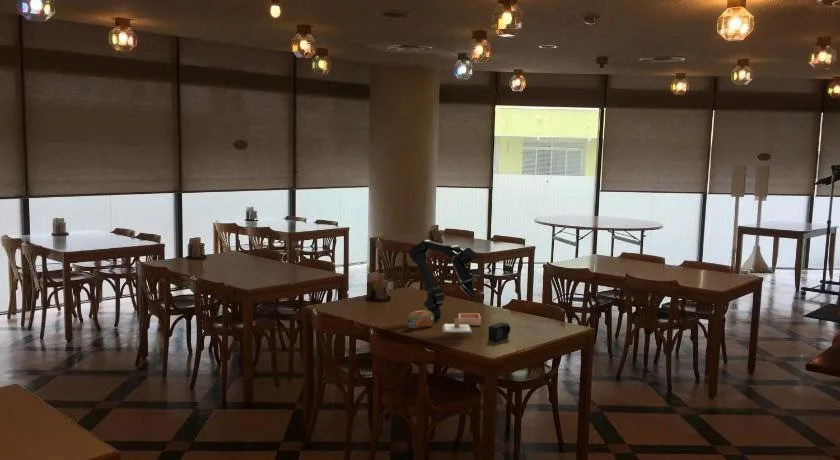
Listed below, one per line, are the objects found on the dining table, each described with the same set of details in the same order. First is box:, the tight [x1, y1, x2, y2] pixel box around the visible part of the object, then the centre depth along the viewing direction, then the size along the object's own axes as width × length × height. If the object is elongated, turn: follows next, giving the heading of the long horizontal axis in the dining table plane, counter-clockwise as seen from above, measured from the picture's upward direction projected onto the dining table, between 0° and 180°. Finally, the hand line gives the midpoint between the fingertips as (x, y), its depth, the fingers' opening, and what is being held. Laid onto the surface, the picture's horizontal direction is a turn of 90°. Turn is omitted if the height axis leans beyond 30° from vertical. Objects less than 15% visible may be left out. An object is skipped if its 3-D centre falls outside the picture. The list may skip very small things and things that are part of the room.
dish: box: [458, 312, 482, 326], centre depth 360 cm, size 10×10×4 cm
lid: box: [443, 317, 470, 333], centre depth 348 cm, size 12×12×5 cm
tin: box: [405, 309, 436, 329], centre depth 352 cm, size 15×3×8 cm, turn 117°
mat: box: [441, 325, 473, 334], centre depth 348 cm, size 14×13×1 cm
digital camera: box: [487, 321, 511, 343], centre depth 330 cm, size 10×5×7 cm, turn 140°
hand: (473, 296), depth 353 cm, fingers open, 9 cm apart
